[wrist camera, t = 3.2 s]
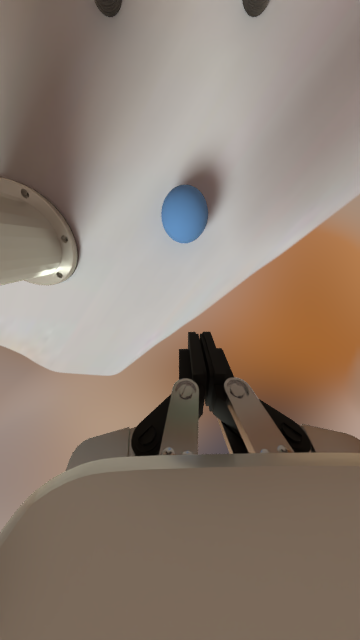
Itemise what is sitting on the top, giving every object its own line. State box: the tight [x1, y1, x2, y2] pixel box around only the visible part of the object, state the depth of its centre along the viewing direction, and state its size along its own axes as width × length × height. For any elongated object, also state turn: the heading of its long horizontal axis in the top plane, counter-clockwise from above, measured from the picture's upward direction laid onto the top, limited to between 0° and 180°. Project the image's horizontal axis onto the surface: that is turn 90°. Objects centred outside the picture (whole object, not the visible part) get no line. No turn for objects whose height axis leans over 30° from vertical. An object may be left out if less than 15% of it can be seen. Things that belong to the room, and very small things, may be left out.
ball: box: [162, 185, 208, 243], centre depth 17 cm, size 6×6×6 cm
